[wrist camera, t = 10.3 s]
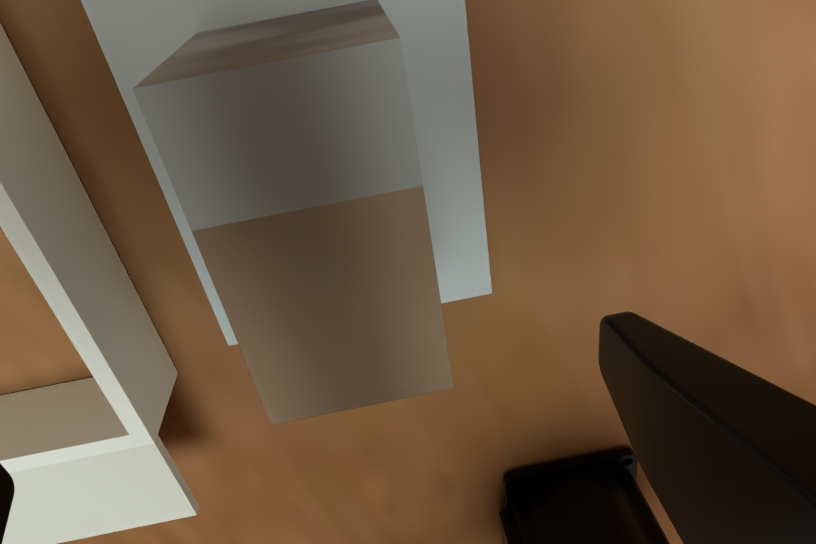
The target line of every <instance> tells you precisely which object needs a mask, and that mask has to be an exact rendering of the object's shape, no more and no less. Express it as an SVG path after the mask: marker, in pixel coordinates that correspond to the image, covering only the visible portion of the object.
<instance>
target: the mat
mask: <svg viewBox="0 0 816 544" xmlns="http://www.w3.org/2000/svg"><path fill="white" fill-rule="evenodd" d="M362 1H368V0H81V2H82V4H83V6H84V9H85V11H86V13H87V16H88V18H89V20H90V23H91V25H92V27H93V30H94V32H95V34H96V37H97V39H98V42H99V44H100V46H101V49H102V51H103V53H104V56H105V58H106V60H107V63H108V65H109V67H110V70H111V72H112V74H113V77H114V79H115V81H116V84H117V86H118V88H119V91H120V93H121V95H122V98H123V100H124V102H125V105H126V107H127V109H128V112H129V114H130V116H131V119H132V121H133V123H134V126H135V128H136V131H137V133H138V135H139V138H140V140H141V142H142V145H143V147H144V149H145V152H146V154H147V156H148V159H149V161H150V163H151V166H152V168H153V170H154V173H155V175H156V177H157V180H158V182H159V184H160V187H161V189H162V191H163V194H164V196H165V198H166V201H167V203H168V205H169V208H170V210H171V212H172V215H173V217H174V219H175V222H176V224H177V227H178V229H179V231H180V234H181V236H182V238H183V241H184V243H185V245H186V248H187V250H188V252H189V255H190V257H191V259H192V262H193V264H194V266H195V269H196V271H197V273H198V276H199V278H200V280H201V283H202V285H203V287H204V290H205V292H206V294H207V297H208V299H209V301H210V304H211V306H212V308H213V311H214V313H215V316H216V318H217V320H218V323H219V325H220V327H221V330H222V332H223V334H224V337H225V339H226V341H227V344H228V346H230V345H235V344H238V342H237V340H236V337H235V335H234V333H233V330H232V328H231V325H230V323H229V321H228V318H227V316H226V313H225V311H224V309H223V306H222V304H221V301H220V299H219V296H218V294H217V292H216V289H215V287H214V284H213V282H212V280H211V277H210V275H209V272H208V270H207V268H206V265H205V263H204V260H203V258H202V255H201V253H200V251H199V248H198V246H197V243H196V241H195V239H194V236H193V234H192V231H191V229H190V227H189V224H188V222H187V219H186V217H185V214H184V212H183V210H182V207H181V205H180V202H179V200H178V198H177V195H176V193H175V190H174V188H173V186H172V183H171V181H170V178H169V176H168V173H167V171H166V169H165V166H164V164H163V161H162V159H161V157H160V154H159V152H158V149H157V147H156V145H155V142H154V140H153V137H152V135H151V132H150V130H149V128H148V125H147V123H146V120H145V118H144V116H143V113H142V111H141V108H140V106H139V104H138V101H137V99H136V96H135V94H134V91H133V88H134V87H135V86H136V85H137V84H138V83H140V82H141V81H142V80H143V79H144V78H145V77H146V76H148V75H149V74H150V73H151V72H152V71H153V70H154V69H156V68H157V67H158V66H159V65H160V64H161V63H162V62H164V61H165V60H166V59H167V58H168V57H169V56H170V55H172V54H173V53H174V52H175V51H176V50H177V49H178V48H180V47H181V46H182V45H183V44H184V43H185V42H186V41H188V40H189V39H190V38H191V37H192V36H193V35H194V34H196V33H198V32H204V31H209V30H214V29H220V28H225V27H230V26H235V25H241V24H246V23H251V22H257V21H262V20H267V19H272V18H278V17H283V16H288V15H294V14H299V13H304V12H309V11H315V10H320V9H325V8H331V7H336V6H341V5H346V4H352V3H357V2H362ZM378 2H379V3H380V5H381V7H382V8H383V10H384V12H385V13H386V15H387V17H388V18H389V20H390V21H391V23H392V25H393V26H394V28H395V30H396V31H397V33H398V35H399V36H400V39H401V45H402V52H403V58H404V65H405V71H406V78H407V84H408V91H409V97H410V104H411V110H412V117H413V123H414V130H415V136H416V143H417V149H418V156H419V162H420V169H421V175H422V182H423V188H424V195H425V201H426V208H427V214H428V221H429V227H430V234H431V240H432V247H433V253H434V260H435V266H436V273H437V279H438V286H439V292H440V299H441V303H446V302H451V301H456V300H461V299H466V298H471V297H476V296H481V295H486V294H491V293H492V288H491V277H490V267H489V256H488V245H487V234H486V223H485V212H484V201H483V190H482V180H481V169H480V158H479V147H478V136H477V125H476V114H475V103H474V93H473V82H472V71H471V60H470V49H469V38H468V27H467V17H466V6H465V0H378Z"/></svg>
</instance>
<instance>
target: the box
mask: <svg viewBox="0 0 816 544" xmlns="http://www.w3.org/2000/svg"><path fill="white" fill-rule="evenodd" d="M133 91H134V94H135V96H136V99H137V101H138V104H139V106H140V108H141V111H142V113H143V116H144V118H145V120H146V123H147V125H148V128H149V130H150V132H151V135H152V137H153V140H154V142H155V145H156V147H157V149H158V152H159V154H160V157H161V159H162V161H163V164H164V166H165V169H166V171H167V173H168V176H169V178H170V181H171V183H172V186H173V188H174V190H175V193H176V195H177V198H178V200H179V202H180V205H181V207H182V210H183V212H184V214H185V217H186V219H187V222H188V224H189V227H190V229H191V231H192V234H193V236H194V239H195V241H196V243H197V246H198V248H199V251H200V253H201V255H202V258H203V260H204V263H205V265H206V268H207V270H208V272H209V275H210V277H211V280H212V282H213V284H214V287H215V289H216V292H217V294H218V296H219V299H220V301H221V304H222V306H223V309H224V311H225V313H226V316H227V318H228V321H229V323H230V325H231V328H232V330H233V333H234V335H235V337H236V340H237V342H238V345H239V347H240V350H241V352H242V354H243V357H244V359H245V362H246V364H247V366H248V369H249V371H250V374H251V376H252V378H253V381H254V383H255V386H256V388H257V391H258V393H259V395H260V398H261V400H262V403H263V405H264V407H265V410H266V412H267V415H268V417H269V419H270V422H271V424H272V425H274V424H279V423H284V422H289V421H294V420H299V419H304V418H309V417H314V416H318V415H323V414H328V413H333V412H338V411H343V410H348V409H353V408H358V407H363V406H368V405H373V404H378V403H383V402H388V401H393V400H398V399H403V398H408V397H413V396H417V395H422V394H427V393H432V392H437V391H442V390H447V389H452V388H454V383H453V377H452V370H451V364H450V357H449V351H448V344H447V338H446V331H445V325H444V318H443V312H442V305H441V299H440V292H439V286H438V279H437V273H436V266H435V260H434V253H433V247H432V240H431V234H430V227H429V221H428V214H427V208H426V201H425V195H424V188H423V182H422V175H421V169H420V162H419V156H418V149H417V143H416V136H415V130H414V123H413V117H412V110H411V104H410V97H409V91H408V84H407V78H406V71H405V65H404V58H403V52H402V45H401V39H400V36H399V35H398V33H397V31H396V30H395V28H394V26H393V25H392V23H391V21H390V20H389V18H388V17H387V15H386V13H385V12H384V10H383V8H382V7H381V5H380V3H379V2H378V0H368V1H362V2H357V3H352V4H346V5H341V6H336V7H331V8H325V9H320V10H315V11H309V12H304V13H299V14H294V15H288V16H283V17H278V18H272V19H267V20H262V21H257V22H251V23H246V24H241V25H235V26H230V27H225V28H220V29H214V30H209V31H204V32H198V33H196V34H194V35H193V36H192V37H191V38H190V39H189V40H188V41H186V42H185V43H184V44H183V45H182V46H181V47H180V48H178V49H177V50H176V51H175V52H174V53H173V54H172V55H170V56H169V57H168V58H167V59H166V60H165V61H164V62H162V63H161V64H160V65H159V66H158V67H157V68H156V69H154V70H153V71H152V72H151V73H150V74H149V75H148V76H146V77H145V78H144V79H143V80H142V81H141V82H140V83H138V84H137V85H136V86H135V87H134V88H133Z"/></svg>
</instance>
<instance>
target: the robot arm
mask: <svg viewBox="0 0 816 544" xmlns="http://www.w3.org/2000/svg"><path fill="white" fill-rule="evenodd" d="M599 366H600V370H601V374H602V376H603V379H604V381H605V383H606V386H607V388H608V391H609V393H610V395H611V398H612V400H613V402H614V405H615V407H616V410H617V412H618V414H619V417H620V419H621V421H622V424H623V426H624V429H625V431H626V433H627V436H628V438H629V440H630V443H631V445H632V448H633V450H634V451H633V450H632V449H629V448H625V449H620V450H615V451H610V452H605V453H600V454H595V455H590V456H585V457H581V458H576V459H571V460H566V461H561V462H556V463H551V464H546V465H541V466H537V467H532V468H527V469H522V470H517V471H512V472H509V473H508V474H506V475H505V476H504V479H503V483H504V493H505V503H506V507H504V508H502V509H501V511H500V512H499V517H500V526H501V535H502V542H503V544H670V543H669V542H668V540H667V538H666V536H665V534H664V532H663V531H662V529H661V527H660V525H659V523H658V521H657V520H656V518H655V516H654V514H653V512H652V510H651V509H650V507H649V505H648V503H647V501H646V499H645V498H644V496H643V494H642V492H641V490H640V488H639V487H638V485H637V483H636V473H637V463H638V461H639V463H640V466H641V468H642V470H643V471H644V473H645V475H646V477H647V479H648V481H649V483H650V485H651V486H652V488H653V490H654V492H655V493H656V495H657V497H658V499H659V501H660V502H661V504H662V506H663V508H664V510H665V511H666V513H667V515H668V517H669V518H670V520H671V522H672V524H673V526H674V527H675V529H676V531H677V533H678V534H679V536H680V538H681V540H682V542H683V543H684V544H816V405H814V404H812V403H810V402H808V401H806V400H804V399H802V398H800V397H798V396H796V395H794V394H792V393H790V392H788V391H786V390H784V389H782V388H780V387H778V386H776V385H774V384H772V383H770V382H768V381H767V380H765V379H763V378H761V377H759V376H757V375H755V374H753V373H751V372H749V371H747V370H745V369H743V368H741V367H739V366H737V365H735V364H733V363H731V362H729V361H727V360H725V359H723V358H721V357H719V356H717V355H715V354H713V353H711V352H710V351H708V350H706V349H704V348H702V347H700V346H698V345H696V344H694V343H692V342H690V341H688V340H686V339H684V338H682V337H680V336H678V335H676V334H674V333H672V332H670V331H668V330H666V329H664V328H662V327H660V326H658V325H656V324H655V323H653V322H651V321H649V320H647V319H645V318H643V317H641V316H639V315H637V314H635V313H632V312H622V313H617V314H612V315H607V316H605V317H603V318H602V319H601V322H600V333H599ZM634 452H635V453H634ZM14 491H15V487H14V481H13V479H12V477H11V475H10V474H9V473H8V472H7V470H6V469H5V468H4V467H3V466H2V464H1V463H0V544H2V541H3V537H4V533H5V529H6V525H7V521H8V517H9V513H10V509H11V505H12V501H13V497H14Z"/></svg>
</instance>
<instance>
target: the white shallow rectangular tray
mask: <svg viewBox="0 0 816 544" xmlns="http://www.w3.org/2000/svg"><path fill="white" fill-rule="evenodd" d="M0 227H1V228H2V230H3V232H4V233H5V235H6V236H7V238H8V240H9V241H10V243H11V244H12V246H13V248H14V249H15V251H16V253H17V254H18V256H19V257H20V259H21V261H22V262H23V264H24V265H25V267H26V269H27V270H28V272H29V274H30V275H31V277H32V278H33V280H34V282H35V283H36V285H37V286H38V288H39V290H40V291H41V293H42V295H43V296H44V298H45V299H46V301H47V303H48V304H49V306H50V307H51V309H52V311H53V312H54V314H55V316H56V317H57V319H58V320H59V322H60V324H61V325H62V327H63V328H64V330H65V332H66V333H67V335H68V336H69V338H70V340H71V341H72V343H73V345H74V346H75V348H76V349H77V351H78V353H79V354H80V356H81V357H82V359H83V361H84V362H85V364H86V366H87V367H88V369H89V370H90V372H91V374H92V375H93V377H91V378H86V379H81V380H76V381H71V382H66V383H61V384H56V385H51V386H46V387H41V388H36V389H31V390H26V391H21V392H16V393H11V394H6V395H1V396H0V463H1V464H2V466H3V467H4V468H5V469H6V470H7V472H8V473H9V474H10V475H11V477H12V479H13V481H14V487H15V491H14V497H13V501H12V505H11V509H10V513H9V517H8V521H7V525H6V529H5V533H4V537H3V541H2V544H57V543H62V542H67V541H72V540H77V539H82V538H87V537H91V536H96V535H101V534H106V533H111V532H116V531H121V530H126V529H131V528H136V527H140V526H145V525H150V524H155V523H160V522H165V521H170V520H175V519H180V518H185V517H190V516H194V515H197V513H198V508H199V505H198V503H197V501H196V500H195V498H194V496H193V494H192V493H191V491H190V489H189V487H188V486H187V484H186V482H185V481H184V479H183V477H182V475H181V474H180V472H179V470H178V468H177V467H176V465H175V463H174V462H173V460H172V458H171V456H170V455H169V453H168V451H167V449H166V448H165V446H164V444H163V443H162V441H161V439H160V437H159V436H158V432H159V429H160V426H161V423H162V420H163V417H164V414H165V411H166V408H167V405H168V402H169V399H170V396H171V392H172V389H173V386H174V383H175V380H176V377H177V374H178V372H177V370H176V368H175V366H174V364H173V362H172V360H171V358H170V356H169V354H168V352H167V350H166V348H165V346H164V344H163V343H162V341H161V339H160V337H159V335H158V333H157V331H156V329H155V327H154V325H153V323H152V321H151V319H150V317H149V315H148V313H147V311H146V309H145V307H144V305H143V303H142V301H141V299H140V297H139V295H138V293H137V291H136V289H135V287H134V285H133V283H132V281H131V279H130V277H129V275H128V274H127V272H126V270H125V268H124V266H123V264H122V262H121V260H120V258H119V256H118V254H117V252H116V250H115V248H114V246H113V244H112V242H111V240H110V238H109V236H108V234H107V232H106V230H105V228H104V226H103V224H102V222H101V220H100V218H99V216H98V214H97V212H96V210H95V208H94V206H93V205H92V203H91V201H90V199H89V197H88V195H87V193H86V191H85V189H84V187H83V185H82V183H81V181H80V179H79V177H78V175H77V173H76V171H75V169H74V167H73V165H72V163H71V161H70V159H69V157H68V155H67V153H66V151H65V149H64V147H63V145H62V143H61V141H60V139H59V137H58V136H57V134H56V132H55V130H54V128H53V126H52V124H51V122H50V120H49V118H48V116H47V114H46V112H45V110H44V108H43V106H42V104H41V102H40V100H39V98H38V96H37V94H36V92H35V90H34V88H33V86H32V84H31V82H30V80H29V78H28V76H27V74H26V72H25V70H24V68H23V67H22V65H21V63H20V61H19V59H18V57H17V55H16V53H15V51H14V49H13V47H12V45H11V43H10V41H9V39H8V37H7V35H6V33H5V31H4V29H3V27H2V25H1V23H0Z"/></svg>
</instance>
